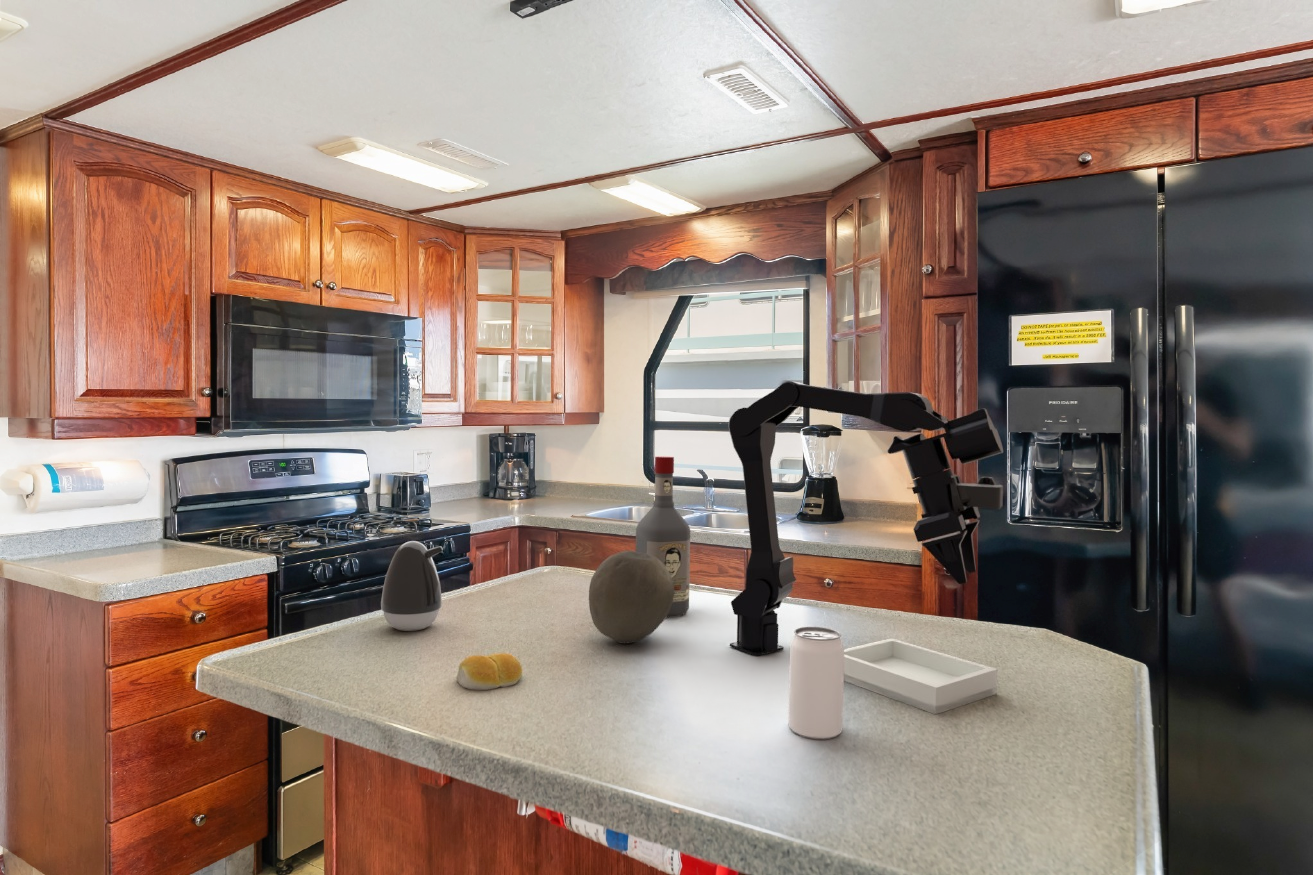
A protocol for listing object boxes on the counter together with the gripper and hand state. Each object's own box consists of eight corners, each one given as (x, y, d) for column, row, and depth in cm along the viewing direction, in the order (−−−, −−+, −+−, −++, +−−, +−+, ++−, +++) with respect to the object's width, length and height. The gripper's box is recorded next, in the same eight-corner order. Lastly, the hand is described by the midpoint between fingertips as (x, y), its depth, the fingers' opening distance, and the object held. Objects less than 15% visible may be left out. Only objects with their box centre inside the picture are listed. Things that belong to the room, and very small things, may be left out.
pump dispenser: (432, 635, 135) (433, 546, 135) (372, 634, 135) (372, 545, 135) (449, 620, 145) (450, 537, 145) (393, 619, 145) (393, 536, 145)
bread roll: (531, 684, 113) (531, 656, 113) (469, 695, 108) (470, 666, 108) (508, 668, 120) (508, 641, 119) (449, 677, 115) (450, 650, 115)
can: (843, 743, 94) (845, 642, 93) (787, 737, 95) (789, 637, 95) (841, 722, 100) (843, 627, 100) (789, 717, 101) (791, 623, 101)
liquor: (630, 608, 157) (633, 455, 156) (672, 604, 160) (675, 455, 160) (649, 619, 148) (652, 458, 147) (693, 615, 152) (696, 458, 151)
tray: (830, 675, 118) (830, 652, 118) (890, 660, 126) (891, 638, 126) (935, 714, 103) (936, 687, 103) (996, 693, 111) (997, 669, 111)
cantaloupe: (636, 658, 125) (638, 563, 124) (570, 641, 133) (571, 552, 133) (688, 639, 136) (689, 551, 135) (624, 624, 144) (625, 542, 144)
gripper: (978, 460, 105) (1020, 575, 103) (995, 455, 121) (1031, 554, 119) (897, 484, 110) (934, 594, 108) (923, 476, 127) (956, 572, 124)
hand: (967, 577), depth 115 cm, fingers open, 9 cm apart
